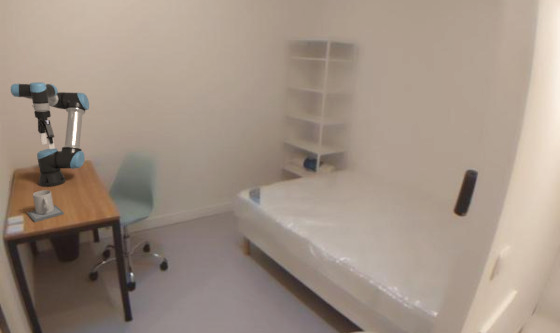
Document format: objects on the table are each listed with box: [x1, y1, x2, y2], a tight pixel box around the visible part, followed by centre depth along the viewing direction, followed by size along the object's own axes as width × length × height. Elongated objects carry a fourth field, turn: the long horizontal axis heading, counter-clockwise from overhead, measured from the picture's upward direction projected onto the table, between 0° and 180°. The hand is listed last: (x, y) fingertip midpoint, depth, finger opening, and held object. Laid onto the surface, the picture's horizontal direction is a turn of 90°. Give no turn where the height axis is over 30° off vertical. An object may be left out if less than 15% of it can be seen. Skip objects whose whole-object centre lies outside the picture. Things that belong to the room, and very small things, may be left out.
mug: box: [32, 189, 54, 214], centre depth 191 cm, size 12×8×11 cm
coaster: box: [26, 204, 65, 223], centre depth 193 cm, size 13×14×1 cm
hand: (48, 146), depth 204 cm, fingers open, 13 cm apart
